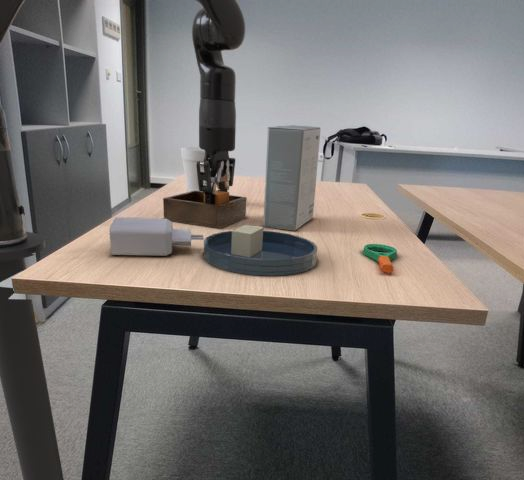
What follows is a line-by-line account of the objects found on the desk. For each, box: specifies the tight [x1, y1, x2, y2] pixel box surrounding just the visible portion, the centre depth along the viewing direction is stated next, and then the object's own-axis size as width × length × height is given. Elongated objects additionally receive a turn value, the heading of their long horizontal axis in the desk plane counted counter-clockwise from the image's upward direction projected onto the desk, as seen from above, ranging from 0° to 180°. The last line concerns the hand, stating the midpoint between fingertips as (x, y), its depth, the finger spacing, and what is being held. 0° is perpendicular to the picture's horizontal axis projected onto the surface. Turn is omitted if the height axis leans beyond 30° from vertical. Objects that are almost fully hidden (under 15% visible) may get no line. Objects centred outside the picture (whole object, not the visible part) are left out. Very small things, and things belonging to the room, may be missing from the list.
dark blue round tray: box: [203, 230, 318, 277], centre depth 81 cm, size 19×19×2 cm
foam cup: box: [180, 146, 213, 192], centre depth 120 cm, size 10×9×13 cm
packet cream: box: [231, 224, 264, 257], centre depth 81 cm, size 4×6×4 cm, turn 158°
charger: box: [109, 216, 204, 257], centre depth 81 cm, size 5×9×15 cm
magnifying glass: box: [362, 243, 398, 273], centre depth 83 cm, size 15×6×2 cm, turn 173°
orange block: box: [204, 189, 230, 205], centre depth 104 cm, size 4×6×4 cm, turn 158°
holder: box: [162, 191, 248, 229], centre depth 105 cm, size 14×14×5 cm
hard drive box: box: [262, 124, 321, 232], centre depth 103 cm, size 16×8×20 cm, turn 161°
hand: (216, 209), depth 104 cm, fingers closed on orange block, 5 cm apart
